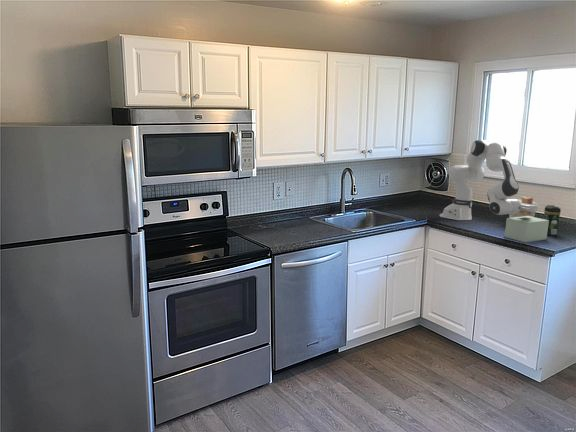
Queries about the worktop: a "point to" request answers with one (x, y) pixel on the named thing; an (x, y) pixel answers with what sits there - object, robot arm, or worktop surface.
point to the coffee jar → (552, 218)
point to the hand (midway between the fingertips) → (527, 205)
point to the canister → (520, 210)
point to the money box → (526, 228)
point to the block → (528, 201)
